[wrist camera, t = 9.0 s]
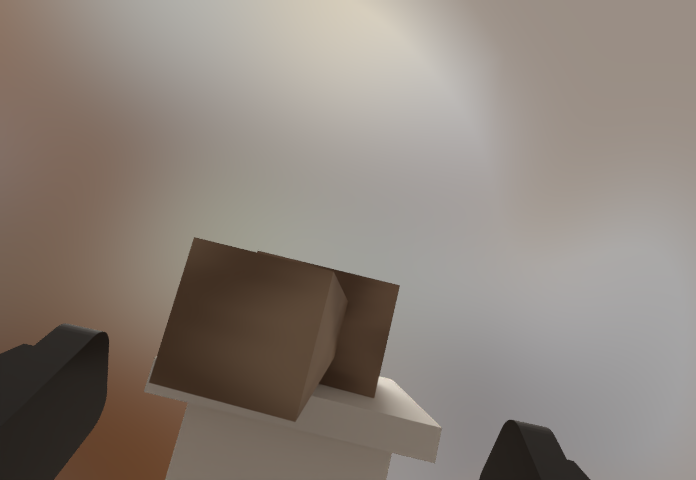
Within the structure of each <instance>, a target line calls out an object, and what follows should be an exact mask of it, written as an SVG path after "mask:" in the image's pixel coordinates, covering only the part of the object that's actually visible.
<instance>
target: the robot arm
mask: <svg viewBox="0 0 696 480" xmlns="http://www.w3.org/2000/svg"><path fill="white" fill-rule="evenodd" d="M108 353H109V338H108V335H107V333H105V332H103V331H98V330H93V329H89V328H84V327H80V326H75V325H71V324H61V325H59V326H58V327H56V328H55V329H54V330H53V331H52V332H50V333H49V334H48V335H47V336H45V337H44V338H43V339H42V340H40V341H39V342H38V343H37V344H36V345H34V346H32V345H27V344H22V345H20V346H18V347H15V348H13V349H11V350H8V351H6V352H4V353H1V354H0V480H54V479H55V477H56V476H57V475H58V473H59V472H60V471H61V469H62V468H63V467H64V466H65V464H66V463H67V462H68V460H69V459H70V458H71V457H72V455H73V454H74V453H75V451H76V450H77V449H78V448H79V446H80V445H81V444H82V442H83V441H84V440H85V438H86V437H87V436H88V435H89V433H90V432H91V431H92V429H93V428H94V426H95V425H96V423H97V421H98V420H99V418H100V415H101V413H102V411H103V408H104V405H105V401H106V396H107V375H108ZM479 480H590V479H589V478H588V477H587V475H586V474H585V473H584V472H583V471H582V470H581V469H580V468H579V467H578V465H577V464H576V463H575V462H574V461H571V460H567V459H566V457H565V455H564V453H563V451H562V449H561V447H560V445H559V443H558V442H557V440H556V438H555V436H554V434H553V432H552V431H551V430H550V429H548V428H546V427H542V426H538V425H533V424H529V423H524V422H519V421H515V420H508V421H507V422H506V423H505V424H504V425H503V427H502V429H501V431H500V434H499V436H498V438H497V440H496V442H495V445H494V446H493V449H492V451H491V453H490V455H489V457H488V460H487V462H486V464H485V466H484V468H483V470H482V473H481V475H480V479H479Z"/></svg>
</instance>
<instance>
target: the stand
mask: <svg viewBox="0 0 696 480" xmlns="http://www.w3.org/2000/svg"><path fill="white" fill-rule="evenodd" d="M156 358H157V356H156V357H155V358H154V361H153V364H152V368H151V371H150V374H149V378H148V380H147V384H146V387H145V390H144V392H147V393H151V394H155V395H159V396H163V397H168V398H172V399H176V400H180V401H184V402H188V405H187V408H186V411H185V415H184V418H183V421H182V425H181V428H180V432H179V435H178V438H177V442H176V445H175V448H174V452H173V455H172V459H171V462H170V465H169V469H168V472H167V476H166V479H165V480H386V477H387V473H388V468H389V463H390V459H391V454H392V453H396V454H399V455H403V456H407V457H412V458H416V459H420V460H424V461H428V462H433V463H435V460H436V455H437V450H438V445H439V440H440V435H441V430H442V428H441V427H440V426H439V425H438V424H437V423H436V422H435V421H434V420H433V419H432V418H431V417H430V416H429V415H428V414H427V413H426V412H425V411H424V410H423V409H422V408H421V407H420V406H419V405H418V404H417V403H416V402H414V400H413V399H411V398H410V397H409V396H408V395H407V394H406V393H405V392H404V391H403V390H402V389H401V388H400V387H399V386H398V385H397V384H396V383H395V382H394V381H393V380H391V379H388V378H384V377H380V376H379V379H378V384H377V388H376V392H375V397H374V398H371V397H367V396H363V395H359V394H355V393H352V392H348V391H344V390H340V389H336V388H332V387H329V386H325V385H321V384H318V385H317V387H316V389H315V390H314V392H313V394H312V395H311V397H310V399H309V400H308V402H307V404H306V405H305V407H304V409H303V410H302V412H301V414H300V415H299V417H298V419H297V420H296V422H293V421H290V420H286V419H282V418H278V417H275V416H271V415H267V414H264V413H260V412H256V411H252V410H249V409H245V408H241V407H237V406H234V405H230V404H226V403H223V402H219V401H215V400H211V399H208V398H204V397H200V396H196V395H193V394H189V393H185V392H182V391H178V390H174V389H170V388H167V387H163V386H159V385H155V384H152V383H149V380H150V377H151V374H152V371H153V368H154V364H155V361H156Z"/></svg>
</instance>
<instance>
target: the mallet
mask: <svg viewBox="0 0 696 480" xmlns="http://www.w3.org/2000/svg"><path fill="white" fill-rule="evenodd" d="M398 291H399V285H395V284H392V283H387V282H383V281H379V280H375V279H371V278H367V277H362V276H359V275H355V274H351V273H346V272H343V271H338V270H334V269H330V268H326V267H322V266H318V265H314V264H310V263H306V262H301V261H298V260H293V259H289V258H285V257H281V256H277V255H273V254H269V253H265V252H261V251H258V252H257V253H256V252H252V251H248V250H244V249H239V248H236V247H232V246H228V245H223V244H219V243H215V242H211V241H207V240H203V239H199V238H194V240H193V243H192V246H191V249H190V253H189V256H188V259H187V262H186V266H185V269H184V272H183V275H182V278H181V281H180V285H179V288H178V291H177V294H176V297H175V301H174V304H173V307H172V310H171V313H170V316H169V320H168V323H167V326H166V329H165V332H164V336H163V339H162V342H161V345H160V348H159V352H158V355H157V358H156V361H155V364H154V368H153V371H152V374H151V377H150V380H149V383H152V384H155V385H159V386H163V387H167V388H170V389H174V390H178V391H182V392H185V393H189V394H193V395H196V396H200V397H204V398H208V399H211V400H215V401H219V402H223V403H226V404H230V405H234V406H237V407H241V408H245V409H249V410H252V411H256V412H260V413H264V414H267V415H271V416H275V417H278V418H282V419H286V420H290V421H293V422H296V420H297V419H298V417H299V415H300V414H301V412H302V410H303V409H304V407H305V405H306V404H307V402H308V400H309V399H310V397H311V395H312V394H313V392H314V390H315V389H316V387H317V385H318V384H321V385H325V386H329V387H332V388H336V389H340V390H344V391H348V392H352V393H355V394H359V395H363V396H367V397H371V398H374V397H375V392H376V388H377V384H378V379H379V375H380V370H381V366H382V362H383V357H384V353H385V348H386V344H387V340H388V335H389V331H390V326H391V322H392V317H393V313H394V309H395V304H396V300H397V295H398Z"/></svg>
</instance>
